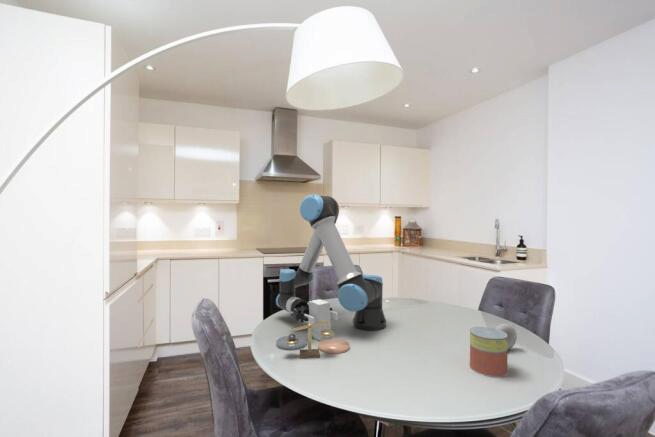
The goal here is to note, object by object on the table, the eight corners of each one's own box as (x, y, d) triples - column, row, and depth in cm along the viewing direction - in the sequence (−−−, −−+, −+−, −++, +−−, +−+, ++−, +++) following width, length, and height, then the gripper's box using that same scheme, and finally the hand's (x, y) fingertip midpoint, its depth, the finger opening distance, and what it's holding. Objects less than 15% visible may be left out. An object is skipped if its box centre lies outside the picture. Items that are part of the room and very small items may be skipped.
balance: (333, 351, 123) (333, 318, 123) (334, 357, 118) (335, 322, 118) (284, 353, 121) (285, 319, 121) (284, 359, 116) (284, 323, 116)
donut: (496, 353, 122) (496, 326, 122) (489, 349, 125) (490, 323, 125) (519, 350, 125) (519, 323, 125) (511, 347, 128) (511, 321, 128)
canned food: (516, 374, 106) (516, 336, 106) (486, 379, 103) (487, 340, 102) (489, 359, 117) (489, 325, 116) (462, 363, 113) (462, 328, 113)
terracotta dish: (346, 340, 134) (346, 338, 134) (351, 353, 122) (351, 349, 122) (316, 341, 132) (316, 338, 132) (319, 354, 121) (319, 351, 121)
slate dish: (306, 337, 137) (306, 335, 137) (307, 349, 125) (307, 346, 125) (276, 338, 136) (276, 335, 136) (275, 350, 124) (275, 347, 124)
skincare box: (331, 338, 136) (331, 302, 136) (318, 341, 133) (318, 304, 133) (320, 332, 143) (320, 298, 143) (308, 335, 140) (308, 300, 140)
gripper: (318, 310, 159) (347, 322, 142) (274, 319, 146) (300, 333, 128) (318, 295, 159) (347, 305, 142) (274, 302, 146) (300, 314, 128)
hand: (325, 318), depth 135 cm, fingers open, 11 cm apart
